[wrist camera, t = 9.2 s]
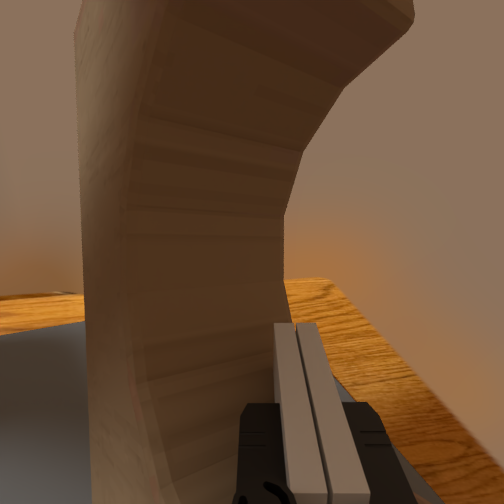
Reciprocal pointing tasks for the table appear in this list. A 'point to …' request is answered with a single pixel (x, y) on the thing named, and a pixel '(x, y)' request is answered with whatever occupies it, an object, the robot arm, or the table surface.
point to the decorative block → (196, 217)
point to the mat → (65, 419)
